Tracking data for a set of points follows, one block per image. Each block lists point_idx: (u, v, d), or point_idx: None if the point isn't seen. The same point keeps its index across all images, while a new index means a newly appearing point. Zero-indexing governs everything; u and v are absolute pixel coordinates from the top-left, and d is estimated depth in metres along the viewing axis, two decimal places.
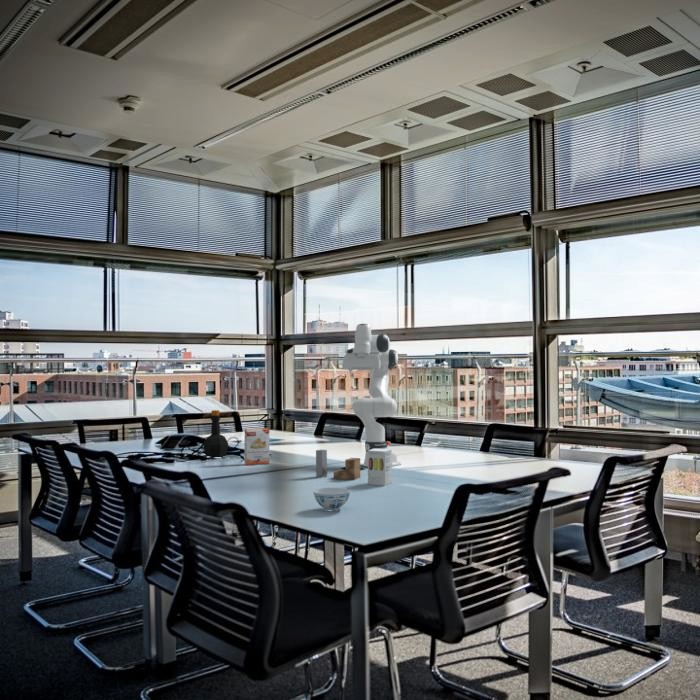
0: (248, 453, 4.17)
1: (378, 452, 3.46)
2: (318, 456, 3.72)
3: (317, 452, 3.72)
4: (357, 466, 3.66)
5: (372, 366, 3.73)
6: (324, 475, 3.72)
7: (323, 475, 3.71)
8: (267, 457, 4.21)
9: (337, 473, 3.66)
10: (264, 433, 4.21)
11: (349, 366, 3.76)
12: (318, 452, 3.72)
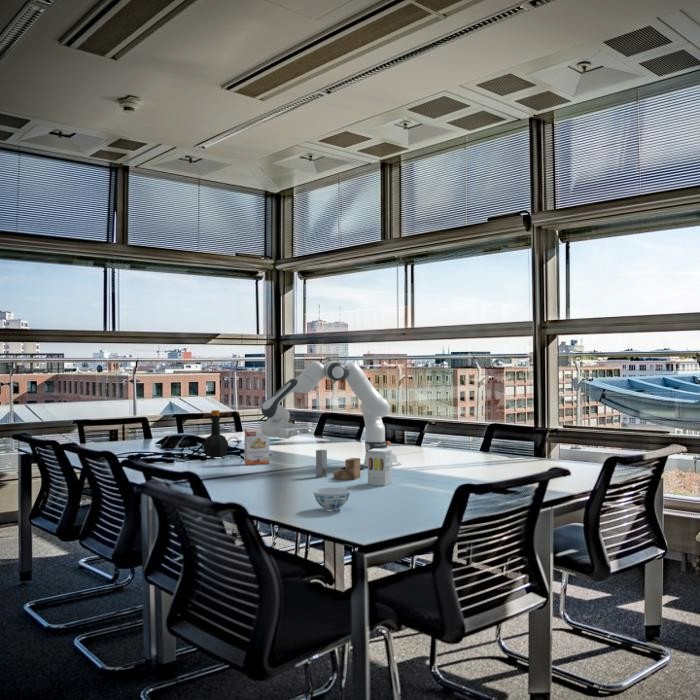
0: (248, 453, 4.17)
1: (378, 452, 3.46)
2: (318, 456, 3.72)
3: (317, 452, 3.72)
4: (357, 466, 3.66)
5: (289, 435, 3.78)
6: (324, 475, 3.72)
7: (323, 475, 3.71)
8: (267, 457, 4.21)
9: (337, 473, 3.66)
10: None
11: None
12: (318, 452, 3.72)
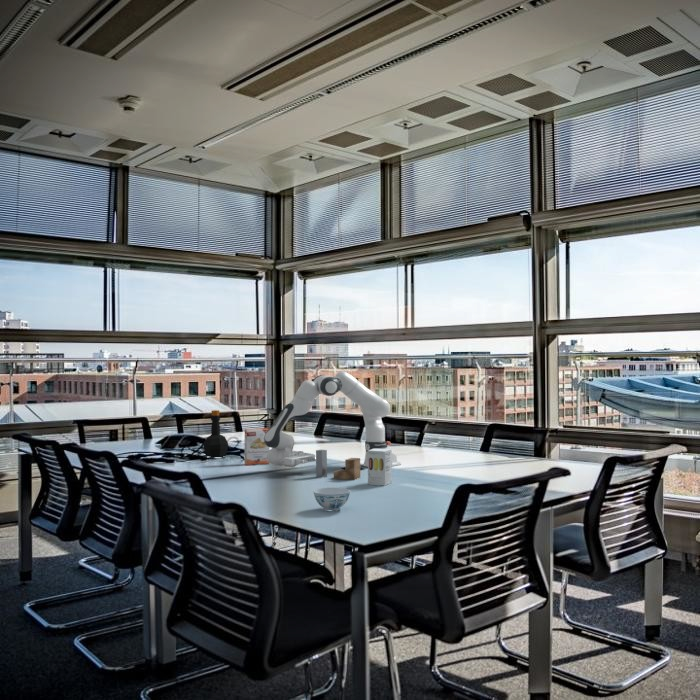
0: (248, 453, 4.17)
1: (378, 452, 3.46)
2: (318, 456, 3.72)
3: (317, 452, 3.72)
4: (357, 466, 3.66)
5: (294, 464, 3.76)
6: (324, 475, 3.72)
7: (323, 475, 3.71)
8: None
9: (337, 473, 3.66)
10: (264, 433, 4.21)
11: (310, 461, 3.86)
12: (318, 452, 3.72)
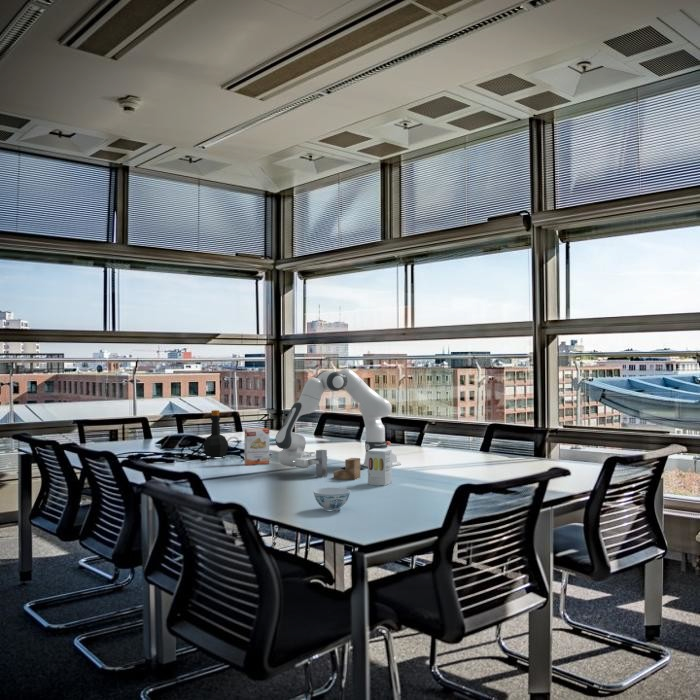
0: (248, 453, 4.17)
1: (378, 452, 3.46)
2: (318, 456, 3.72)
3: (317, 452, 3.72)
4: (357, 466, 3.66)
5: (307, 465, 3.71)
6: (324, 475, 3.72)
7: (323, 475, 3.71)
8: (267, 457, 4.21)
9: (337, 473, 3.66)
10: (264, 433, 4.21)
11: None
12: (318, 452, 3.72)
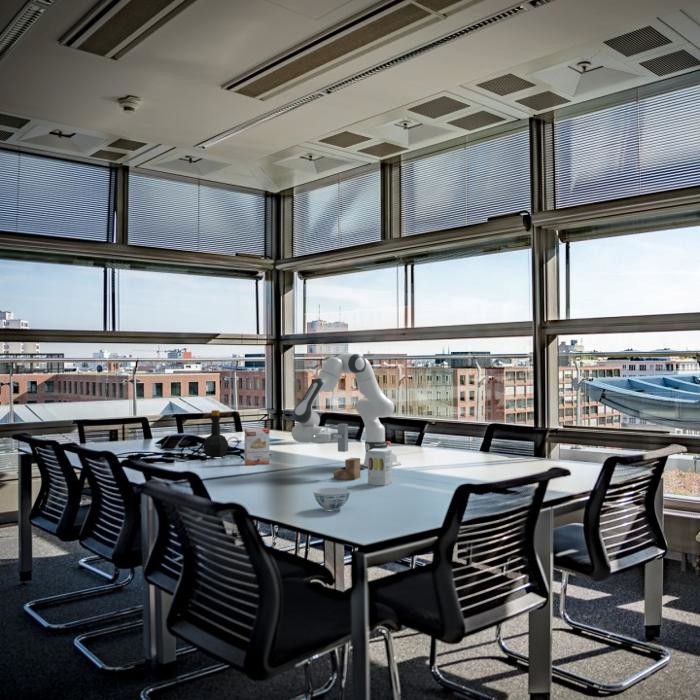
0: (248, 453, 4.17)
1: (378, 452, 3.46)
2: (340, 430, 3.68)
3: (339, 426, 3.68)
4: (357, 466, 3.66)
5: None
6: (346, 449, 3.69)
7: (345, 449, 3.68)
8: (267, 457, 4.21)
9: (337, 473, 3.66)
10: (264, 433, 4.21)
11: None
12: (340, 426, 3.68)
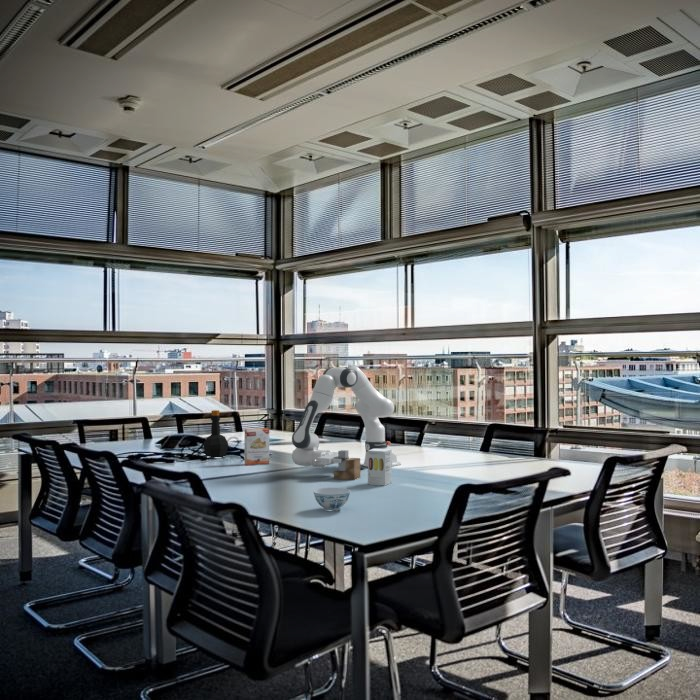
0: (248, 453, 4.17)
1: (378, 452, 3.46)
2: (341, 457, 3.68)
3: (340, 453, 3.68)
4: (357, 466, 3.66)
5: (330, 464, 3.65)
6: None
7: None
8: (267, 457, 4.21)
9: (337, 473, 3.66)
10: (264, 433, 4.21)
11: None
12: (341, 453, 3.68)
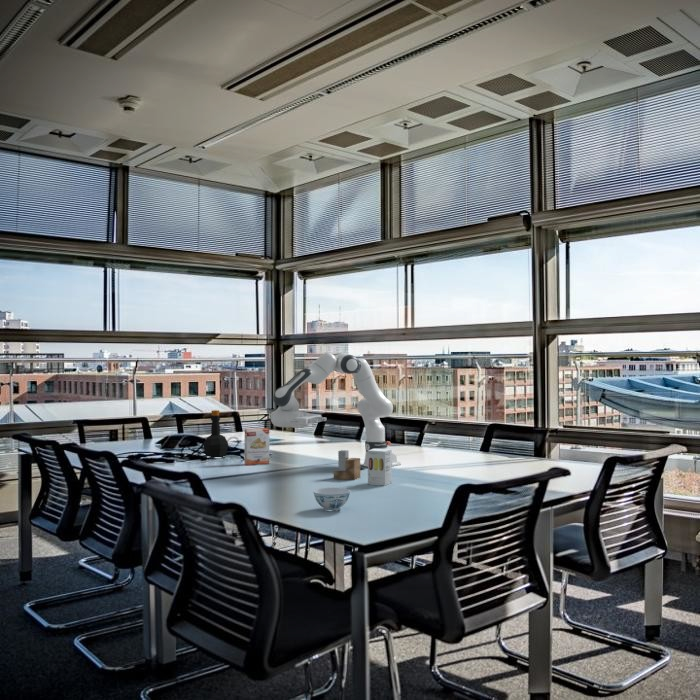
0: (248, 453, 4.17)
1: (378, 452, 3.46)
2: (341, 457, 3.68)
3: (340, 453, 3.68)
4: (357, 466, 3.66)
5: (307, 424, 3.71)
6: None
7: None
8: (267, 457, 4.21)
9: (337, 473, 3.66)
10: (264, 433, 4.21)
11: None
12: (341, 453, 3.68)
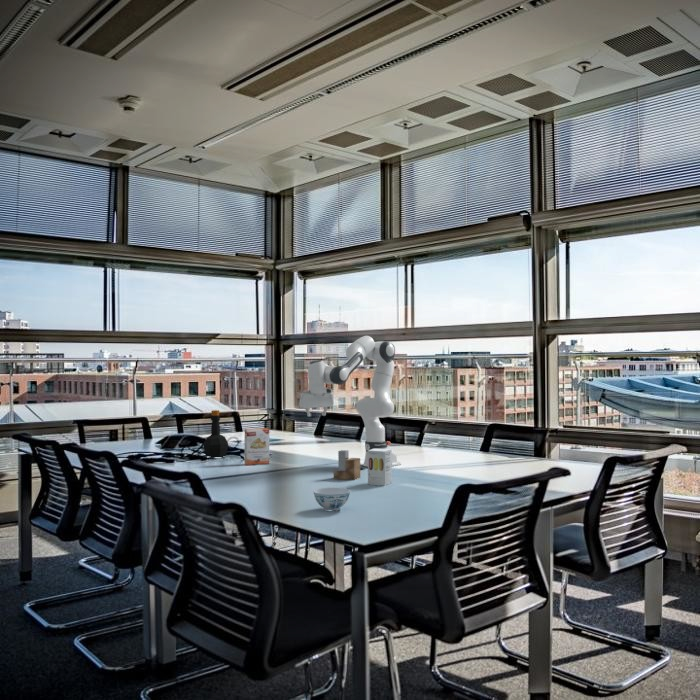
0: (248, 453, 4.17)
1: (378, 452, 3.46)
2: (341, 457, 3.68)
3: (340, 453, 3.68)
4: (357, 466, 3.66)
5: None
6: None
7: None
8: (267, 457, 4.21)
9: (337, 473, 3.66)
10: (264, 433, 4.21)
11: None
12: (341, 453, 3.68)
